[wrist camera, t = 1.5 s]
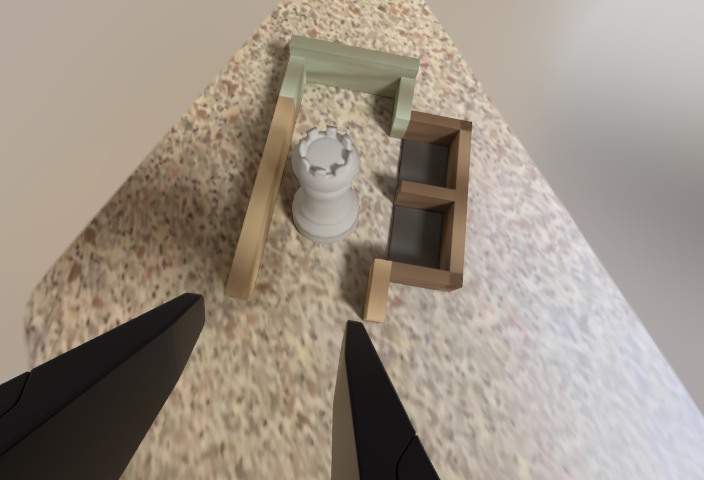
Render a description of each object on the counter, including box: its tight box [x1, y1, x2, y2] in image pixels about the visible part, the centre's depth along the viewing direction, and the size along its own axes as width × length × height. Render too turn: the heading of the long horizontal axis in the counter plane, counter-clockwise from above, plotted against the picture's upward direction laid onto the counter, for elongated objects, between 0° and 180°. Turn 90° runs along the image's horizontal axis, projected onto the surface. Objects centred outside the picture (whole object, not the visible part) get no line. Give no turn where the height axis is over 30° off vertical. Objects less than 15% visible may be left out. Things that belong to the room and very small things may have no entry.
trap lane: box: [224, 35, 472, 323], centre depth 21 cm, size 18×13×3 cm
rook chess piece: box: [291, 125, 361, 244], centre depth 18 cm, size 4×4×8 cm
